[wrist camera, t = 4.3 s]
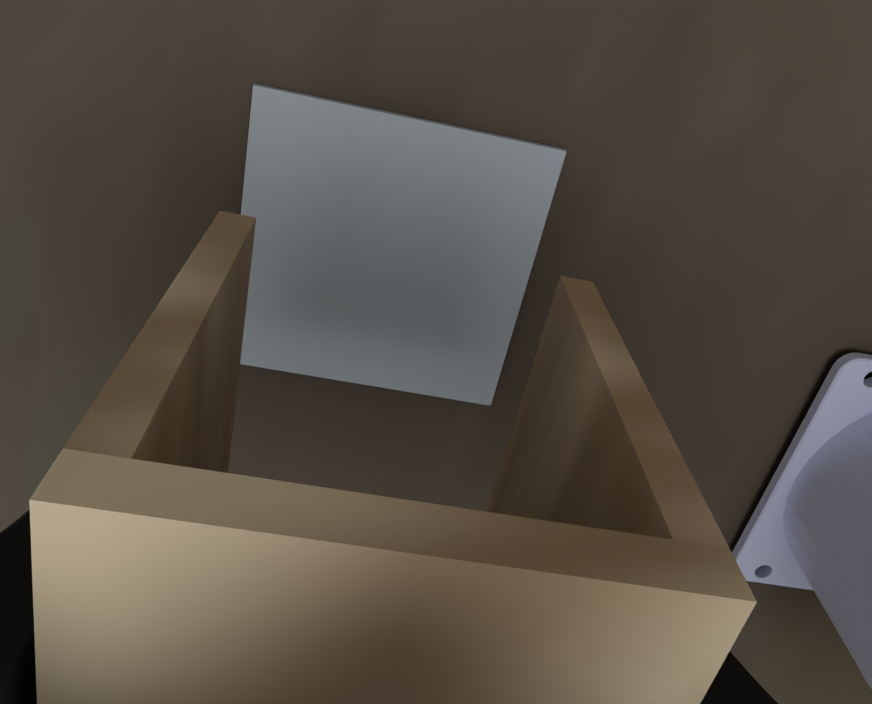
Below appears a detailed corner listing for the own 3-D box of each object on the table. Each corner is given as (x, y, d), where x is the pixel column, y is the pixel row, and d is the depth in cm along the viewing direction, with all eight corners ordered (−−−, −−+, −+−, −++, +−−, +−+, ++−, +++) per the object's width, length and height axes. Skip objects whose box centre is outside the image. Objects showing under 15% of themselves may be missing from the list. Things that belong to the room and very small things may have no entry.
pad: (564, 149, 18) (566, 150, 18) (490, 401, 21) (490, 405, 21) (254, 82, 17) (253, 84, 17) (228, 357, 20) (226, 361, 20)
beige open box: (592, 281, 12) (756, 601, 6) (492, 579, 14) (544, 983, 9) (218, 210, 11) (30, 500, 5) (191, 537, 14) (45, 948, 8)
